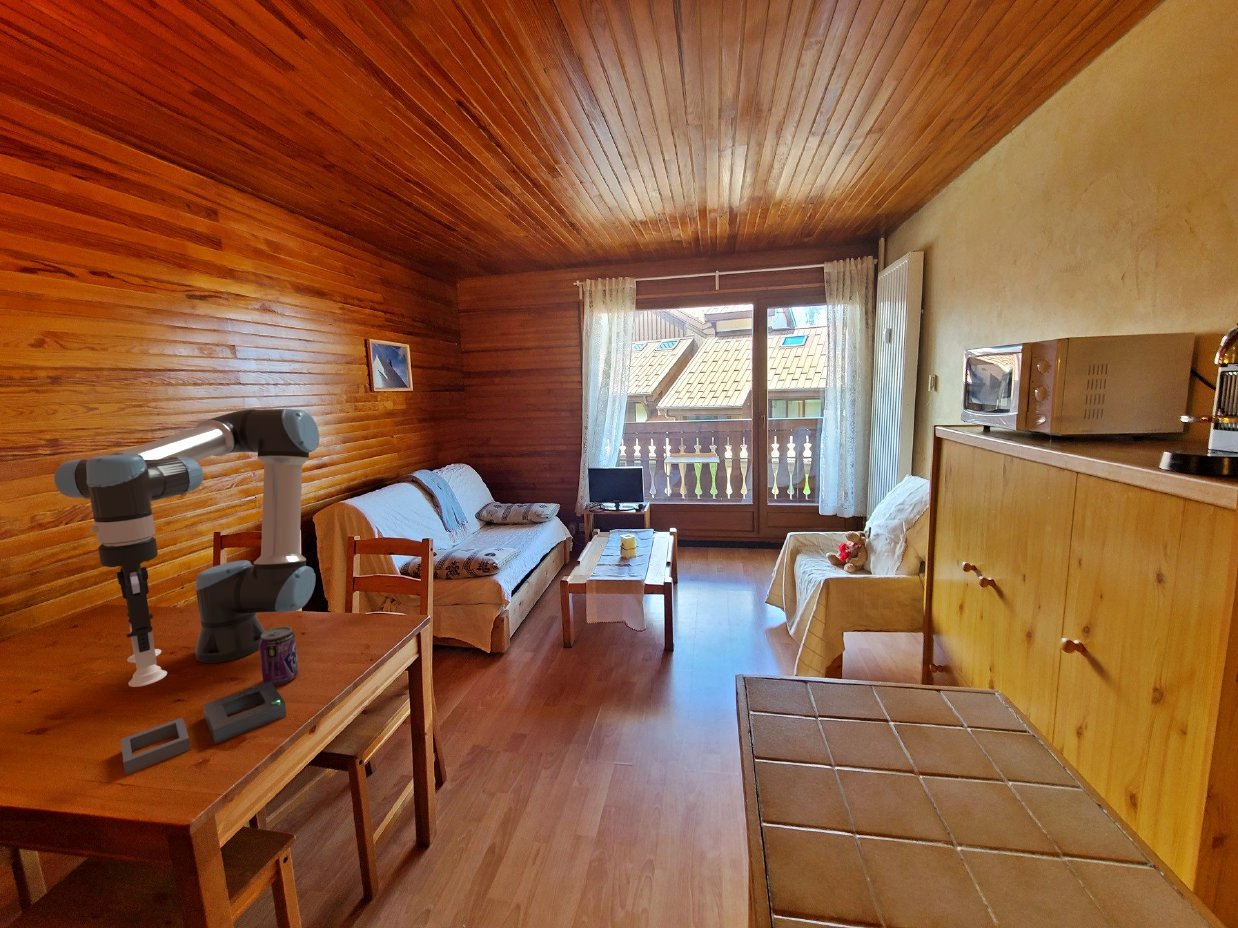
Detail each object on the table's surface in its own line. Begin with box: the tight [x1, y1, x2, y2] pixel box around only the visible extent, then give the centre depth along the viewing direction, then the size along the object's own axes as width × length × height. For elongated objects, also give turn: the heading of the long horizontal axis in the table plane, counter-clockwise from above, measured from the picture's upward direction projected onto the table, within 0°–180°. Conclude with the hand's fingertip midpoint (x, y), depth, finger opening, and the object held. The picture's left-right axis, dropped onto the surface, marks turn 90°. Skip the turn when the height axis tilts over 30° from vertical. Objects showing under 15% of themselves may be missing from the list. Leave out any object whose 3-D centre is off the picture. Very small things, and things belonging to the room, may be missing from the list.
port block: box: [202, 681, 287, 745], centre depth 106 cm, size 12×12×3 cm
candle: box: [127, 627, 168, 688], centre depth 94 cm, size 5×5×12 cm
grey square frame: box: [120, 717, 191, 776], centre depth 96 cm, size 9×9×2 cm
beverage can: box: [259, 626, 300, 686], centre depth 120 cm, size 7×7×12 cm
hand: (145, 660), depth 94 cm, fingers closed on candle, 5 cm apart
